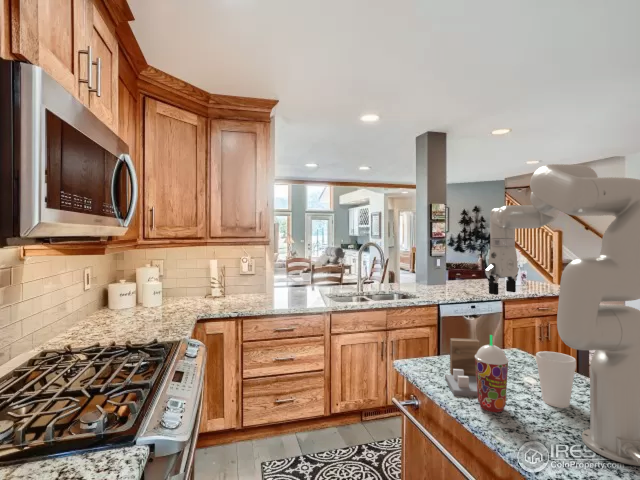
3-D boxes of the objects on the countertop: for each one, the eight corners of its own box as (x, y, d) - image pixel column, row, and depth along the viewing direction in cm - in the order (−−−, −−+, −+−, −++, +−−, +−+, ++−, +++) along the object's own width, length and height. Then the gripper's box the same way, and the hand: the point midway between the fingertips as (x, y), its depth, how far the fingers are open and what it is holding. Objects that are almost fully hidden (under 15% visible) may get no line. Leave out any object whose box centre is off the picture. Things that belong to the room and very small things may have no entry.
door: (481, 378, 117) (480, 342, 117) (452, 377, 118) (452, 341, 118) (477, 373, 121) (477, 339, 121) (450, 372, 122) (449, 338, 122)
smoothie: (489, 417, 91) (489, 340, 91) (468, 402, 99) (468, 332, 99) (516, 412, 94) (515, 338, 94) (492, 399, 102) (492, 330, 102)
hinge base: (503, 397, 102) (503, 382, 102) (453, 395, 104) (453, 380, 104) (489, 381, 114) (489, 367, 114) (445, 379, 116) (445, 365, 116)
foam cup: (568, 397, 103) (567, 352, 103) (582, 412, 94) (582, 363, 94) (531, 393, 105) (531, 350, 105) (542, 407, 96) (542, 360, 96)
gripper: (497, 244, 114) (496, 296, 114) (527, 243, 122) (527, 292, 123) (476, 243, 120) (476, 293, 121) (507, 243, 129) (507, 289, 129)
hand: (502, 292), depth 122 cm, fingers open, 9 cm apart
